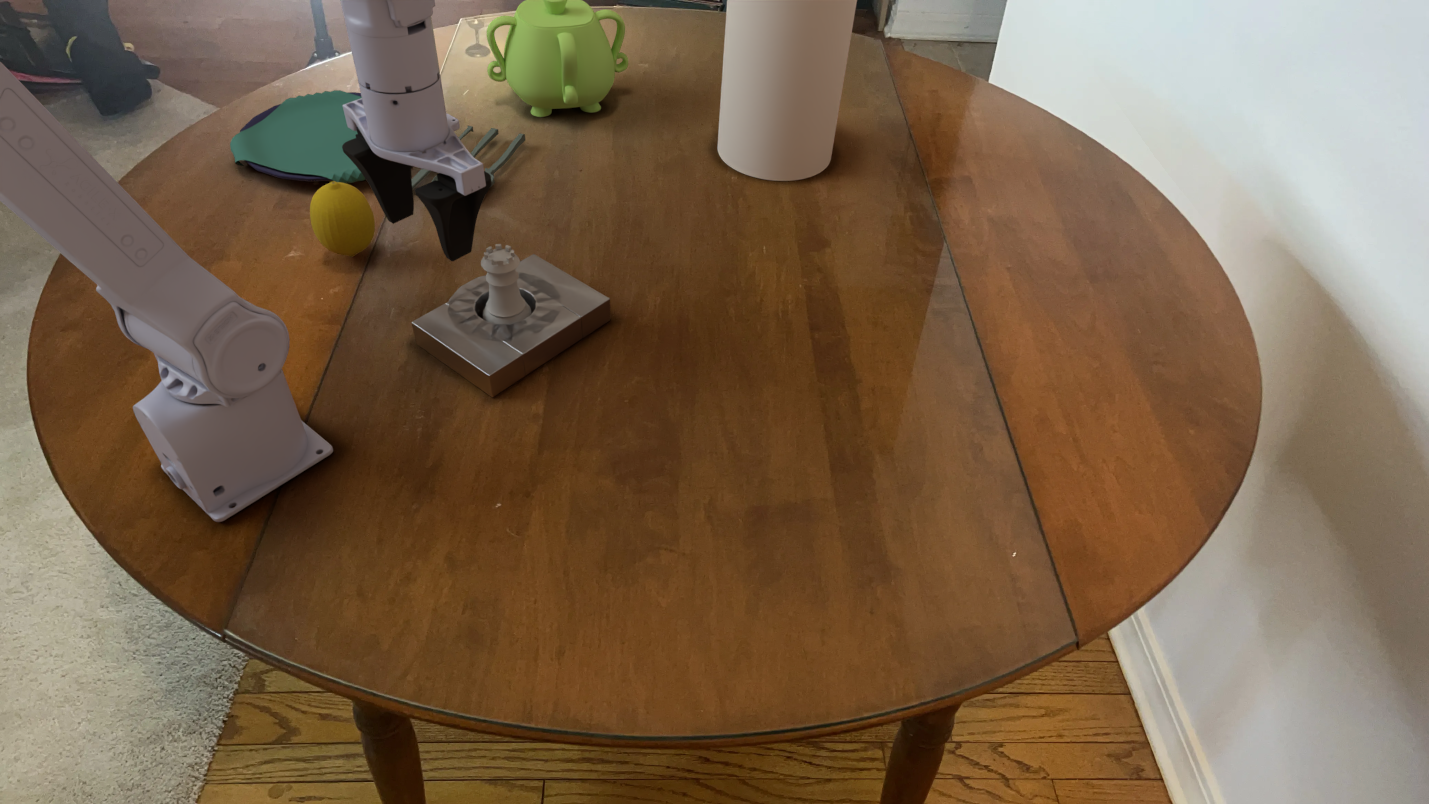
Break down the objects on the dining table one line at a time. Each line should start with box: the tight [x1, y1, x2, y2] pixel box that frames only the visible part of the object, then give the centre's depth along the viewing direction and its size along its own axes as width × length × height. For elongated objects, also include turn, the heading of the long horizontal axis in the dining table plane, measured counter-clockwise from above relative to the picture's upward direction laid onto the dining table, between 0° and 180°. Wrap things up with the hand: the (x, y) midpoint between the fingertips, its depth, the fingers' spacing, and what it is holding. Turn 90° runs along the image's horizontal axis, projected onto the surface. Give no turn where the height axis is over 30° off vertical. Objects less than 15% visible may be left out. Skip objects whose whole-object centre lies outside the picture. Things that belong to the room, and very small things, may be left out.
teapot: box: [486, 0, 629, 118], centre depth 109 cm, size 16×14×13 cm
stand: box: [411, 253, 612, 398], centre depth 80 cm, size 14×11×2 cm
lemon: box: [309, 180, 376, 258], centre depth 85 cm, size 6×6×8 cm
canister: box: [716, 0, 858, 182], centre depth 100 cm, size 14×14×20 cm
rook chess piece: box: [480, 243, 532, 324], centre depth 78 cm, size 4×4×8 cm
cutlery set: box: [229, 89, 526, 190], centre depth 100 cm, size 20×30×2 cm, turn 75°
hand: (429, 235), depth 74 cm, fingers open, 7 cm apart
